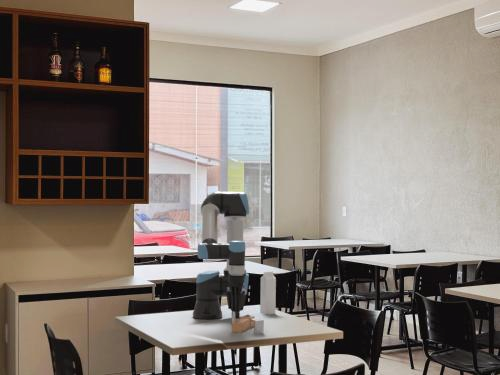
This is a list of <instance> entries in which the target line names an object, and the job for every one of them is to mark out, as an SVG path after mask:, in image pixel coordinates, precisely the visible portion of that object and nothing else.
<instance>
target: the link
mask: <svg viewBox="0 0 500 375" xmlns="http://www.w3.org/2000/svg"><path fill="white" fill-rule="evenodd" d="M246 315H247V314H246ZM246 315H245V314H244V315H242V316H240V318H239V320H237V321H235V322H233V323H232V322H231V329H232V330H231V332H232V333H243V331H246V330H247V329H249V328H252V327H254V323H253V322H251V319H255V315H249V317H246Z"/></svg>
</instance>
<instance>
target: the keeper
mask: <svg viewBox="0 0 500 375" xmlns="http://www.w3.org/2000/svg"><path fill="white" fill-rule="evenodd" d="M264 321H265V320H264V319H263V318H261V317H258V318H256V317H254V319H251V322H253V323H254V326H253V333H254V334H255V335H259V334H264V332H265V331H264V326H265V324H264Z"/></svg>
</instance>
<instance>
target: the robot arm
mask: <svg viewBox="0 0 500 375" xmlns="http://www.w3.org/2000/svg"><path fill="white" fill-rule="evenodd" d="M200 206H201V207H200V213H201V216H202V222H201V223H202V228H201V233H202V234H201V242H200V243H198V244H197V258H198V259H200V260H226V267H225V268H224V269H223V272H222V273H220V271H219V270H207V271H202V272H198V274H197V275H196V281H195V282H196V283H195V284H196V294H195V295H196V296H195V297H196V301H195V305H194V309H193V311H192V317H193V318H194V319H197V320H198V319H199V320H217V319H221V318H223V310H222V308H221V304H220V297H226V300H227V302H226V303H227V306H228V307H227V308H228V310H230V311H231V321H232V322H231V324H232V323H233V322H235V321H237V320H239V319H240V317H241V315H240V312H241V311H244V307H245V302H246V299H247V298H246V297H247V295H248V293H249V292H248V291H249V290H248V287H249V276H250V275H249V273H247V270H246V266H245V265H246V263H245V262H246V242H245V241H244V221H245V220H246V218H247V215H249V214H250V208H249V199H248V194H247V193H246V192H244V191H215V192H213V193H210V194H209V195H208V196H206V198H205V199H204V200H203V201H202V203H201V205H200ZM219 215H223V218H224V219H225V220H226V243H221V242H219V243H218V217H219Z"/></svg>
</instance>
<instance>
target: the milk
mask: <svg viewBox="0 0 500 375" xmlns="http://www.w3.org/2000/svg"><path fill="white" fill-rule="evenodd" d="M276 278H277V277H276V276H275V275H274V272H273V271H264V272H263V275H262V276H261V277H260V296H259V297H260V302H259V303H260V305H259V307H260V308H259V310H260V311H259V312H260V314H264V315H275V314H276V307H277V306H276V301H277V299H276V296H277V295H276V293H277V289H276V288H277V279H276Z"/></svg>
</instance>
